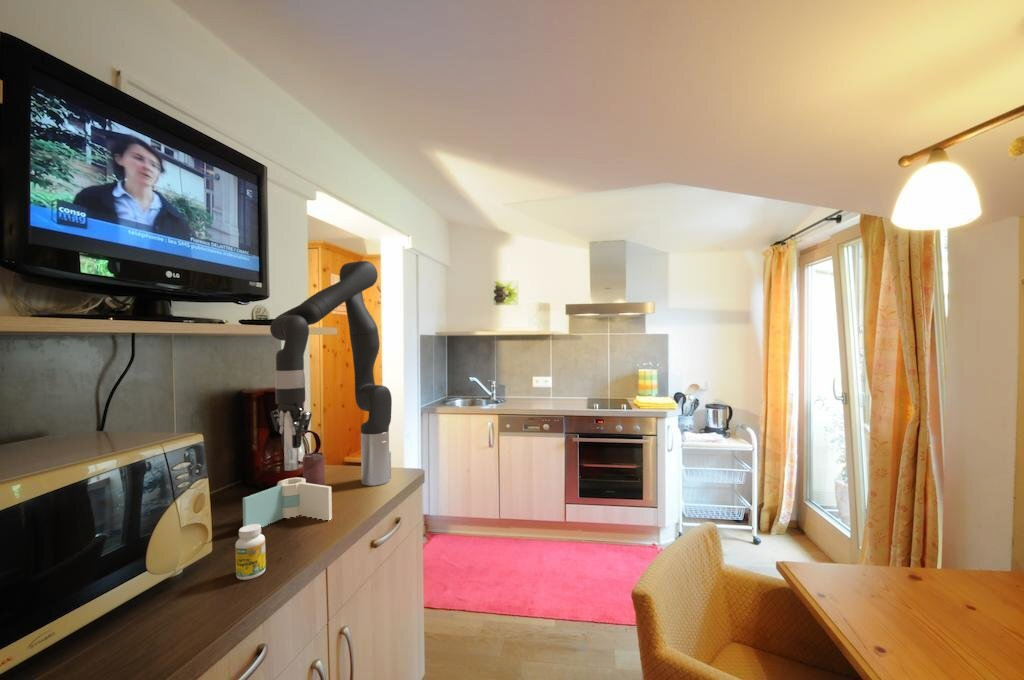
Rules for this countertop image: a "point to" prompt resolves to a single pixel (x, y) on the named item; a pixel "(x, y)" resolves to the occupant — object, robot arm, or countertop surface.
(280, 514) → the leaf
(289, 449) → the hinge pin
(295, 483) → the white hinge leaf
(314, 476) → the can
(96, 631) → the countertop surface
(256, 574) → the supplement bottle
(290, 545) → the countertop surface
